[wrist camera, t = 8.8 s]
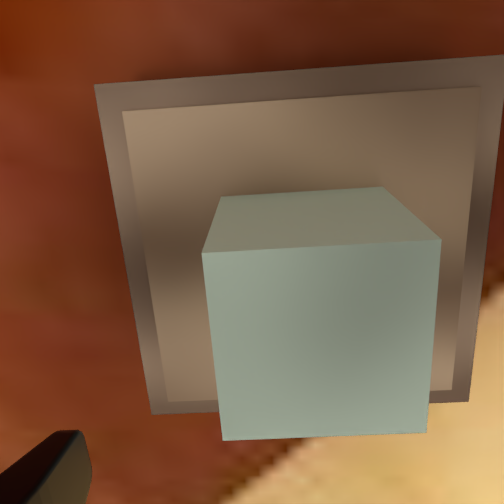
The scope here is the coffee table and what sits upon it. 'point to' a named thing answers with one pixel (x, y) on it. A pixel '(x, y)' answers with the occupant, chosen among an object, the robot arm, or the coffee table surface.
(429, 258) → the sage block
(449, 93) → the pedestal
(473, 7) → the coffee table surface
